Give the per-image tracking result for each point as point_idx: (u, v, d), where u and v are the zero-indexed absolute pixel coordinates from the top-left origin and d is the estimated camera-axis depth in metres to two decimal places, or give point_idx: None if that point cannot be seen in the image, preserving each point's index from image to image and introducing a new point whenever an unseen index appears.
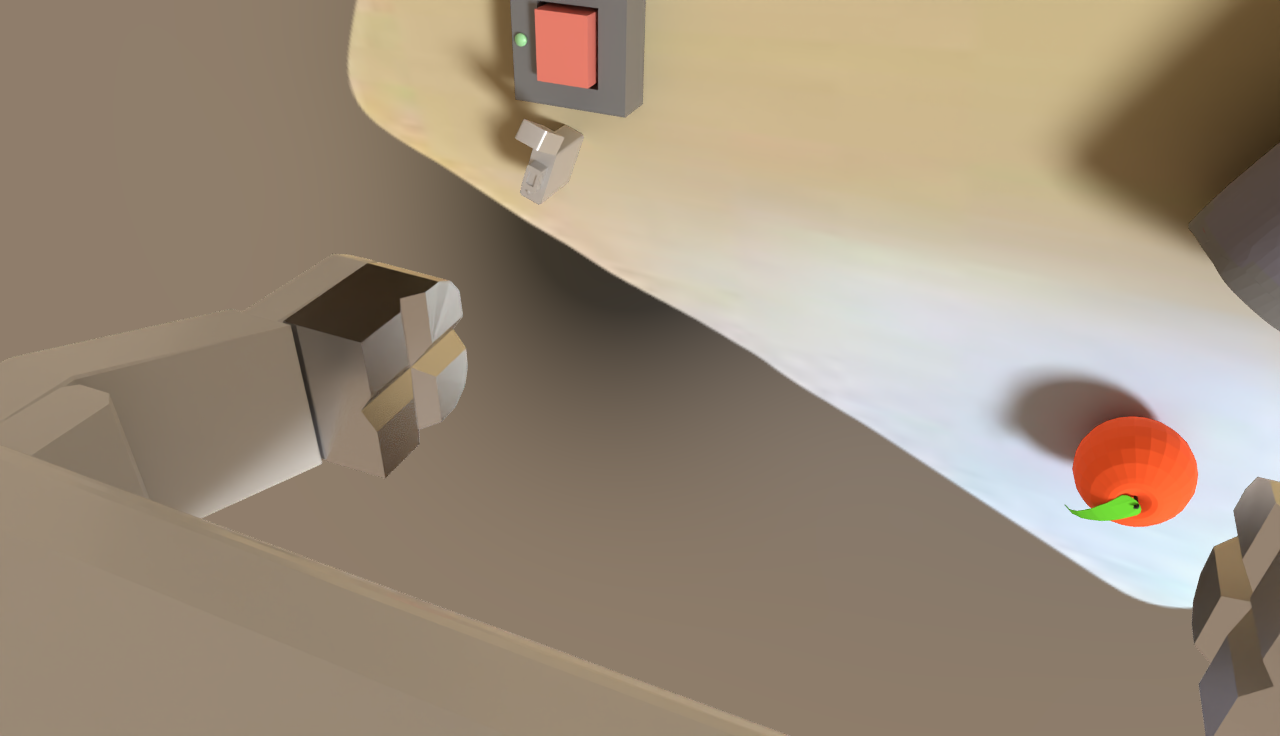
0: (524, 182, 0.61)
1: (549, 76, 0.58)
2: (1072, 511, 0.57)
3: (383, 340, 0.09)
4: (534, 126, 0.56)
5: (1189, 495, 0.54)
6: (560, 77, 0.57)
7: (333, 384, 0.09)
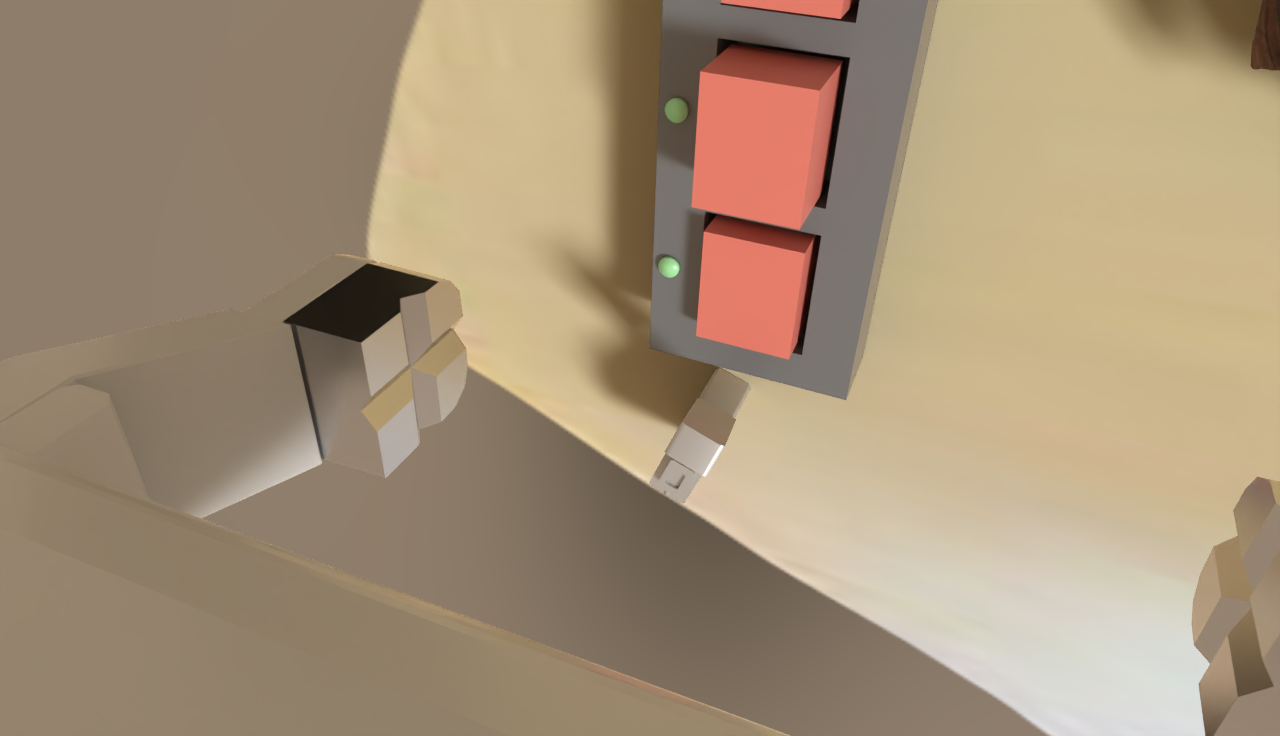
0: (662, 481, 0.37)
1: (719, 333, 0.33)
2: None
3: (383, 340, 0.09)
4: (702, 437, 0.32)
5: None
6: (739, 337, 0.33)
7: (333, 384, 0.09)
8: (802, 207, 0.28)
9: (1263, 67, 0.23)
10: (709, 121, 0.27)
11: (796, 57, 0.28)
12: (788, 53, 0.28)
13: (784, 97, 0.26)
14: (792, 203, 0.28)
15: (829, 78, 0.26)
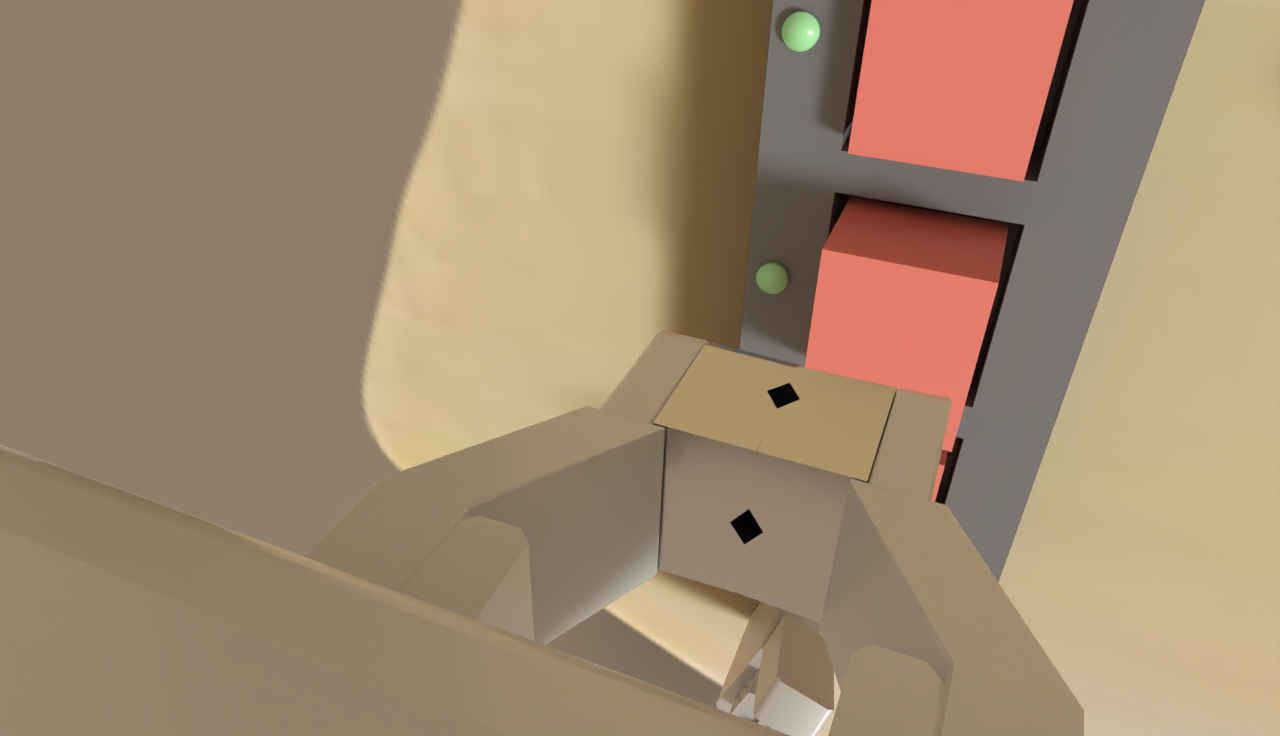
0: (736, 714, 0.29)
1: None
2: None
3: (765, 443, 0.08)
4: (804, 698, 0.24)
5: None
6: None
7: (700, 492, 0.08)
8: (958, 425, 0.20)
9: None
10: (831, 311, 0.20)
11: (944, 218, 0.21)
12: (931, 212, 0.21)
13: (945, 289, 0.19)
14: None
15: None
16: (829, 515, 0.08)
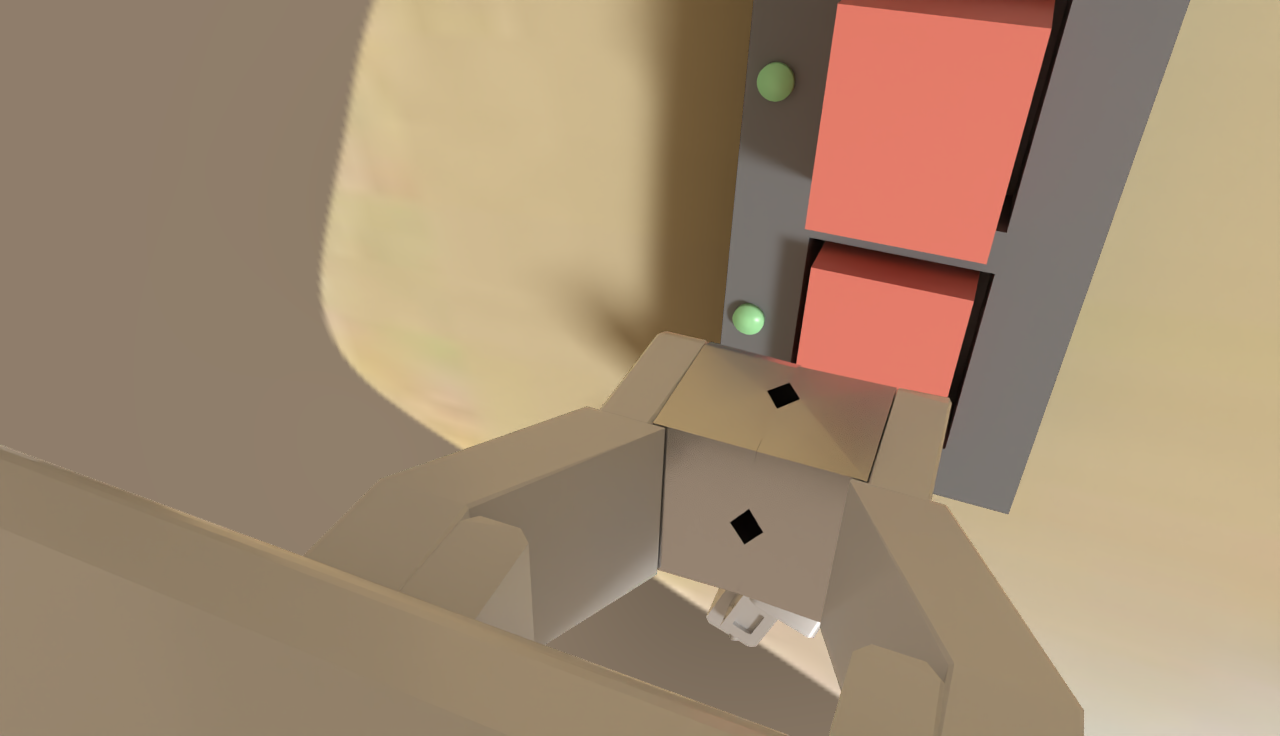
0: (729, 622, 0.26)
1: None
2: None
3: (765, 443, 0.08)
4: None
5: None
6: None
7: (700, 493, 0.08)
8: (995, 228, 0.17)
9: None
10: (846, 88, 0.17)
11: None
12: None
13: (985, 43, 0.15)
14: (978, 221, 0.17)
15: None
16: (827, 515, 0.08)
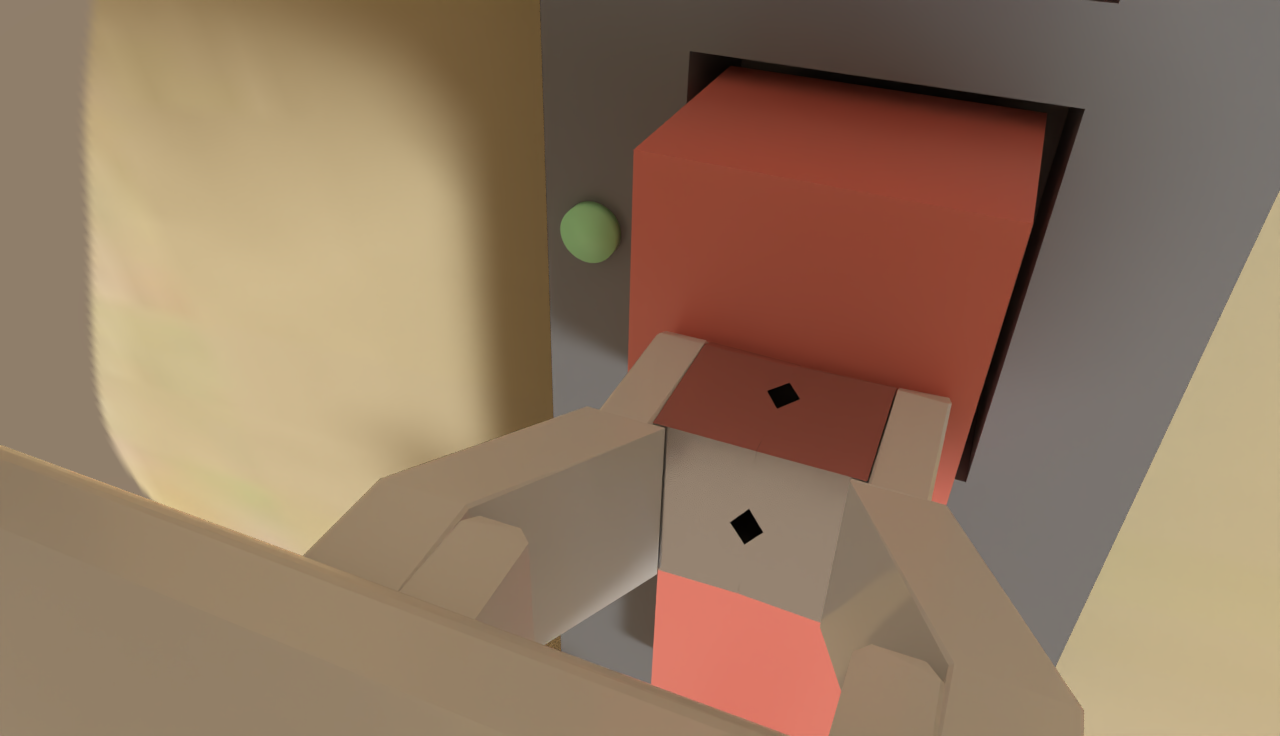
0: None
1: (700, 700, 0.15)
2: None
3: (765, 443, 0.08)
4: None
5: None
6: (745, 715, 0.15)
7: (700, 492, 0.08)
8: None
9: None
10: (665, 291, 0.09)
11: (913, 102, 0.10)
12: (888, 91, 0.10)
13: (905, 238, 0.08)
14: None
15: (1038, 175, 0.08)
16: (829, 515, 0.08)
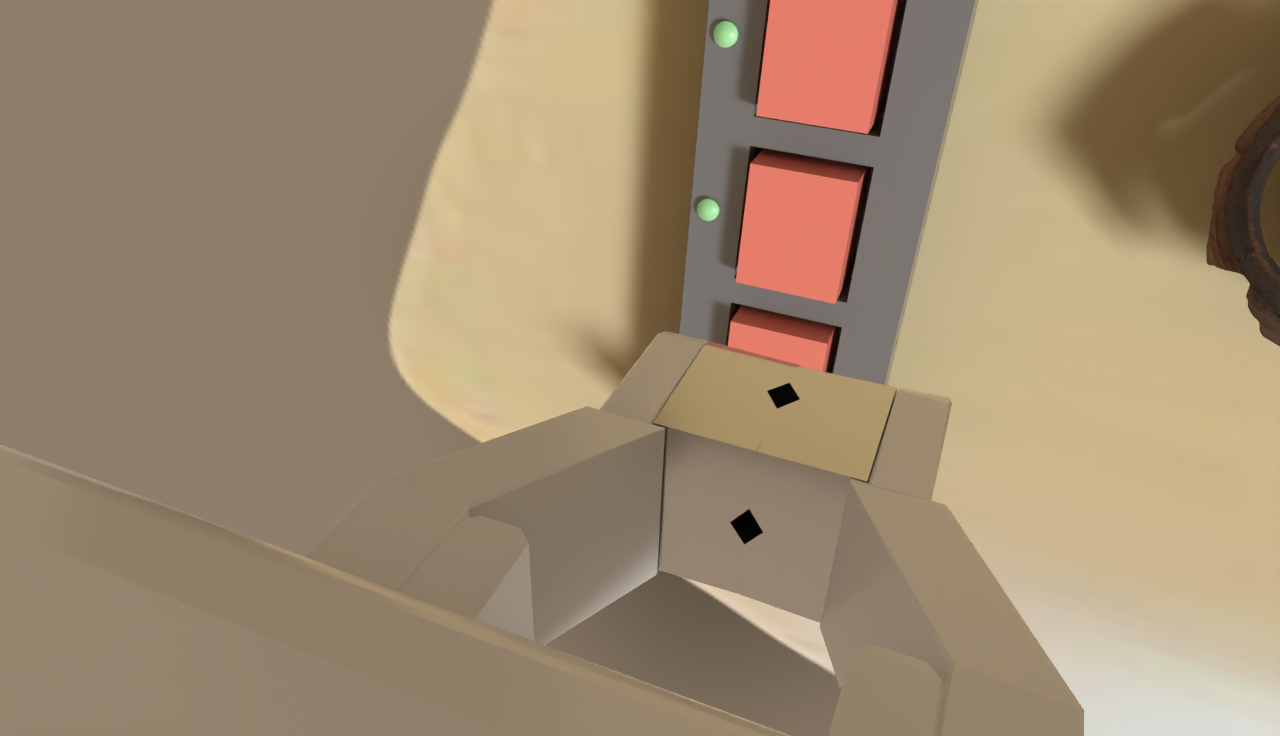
0: None
1: None
2: None
3: (765, 443, 0.08)
4: None
5: None
6: None
7: (700, 492, 0.08)
8: (838, 284, 0.31)
9: (1217, 266, 0.27)
10: (756, 206, 0.31)
11: None
12: None
13: (826, 187, 0.29)
14: (829, 280, 0.31)
15: (864, 172, 0.30)
16: (829, 515, 0.08)
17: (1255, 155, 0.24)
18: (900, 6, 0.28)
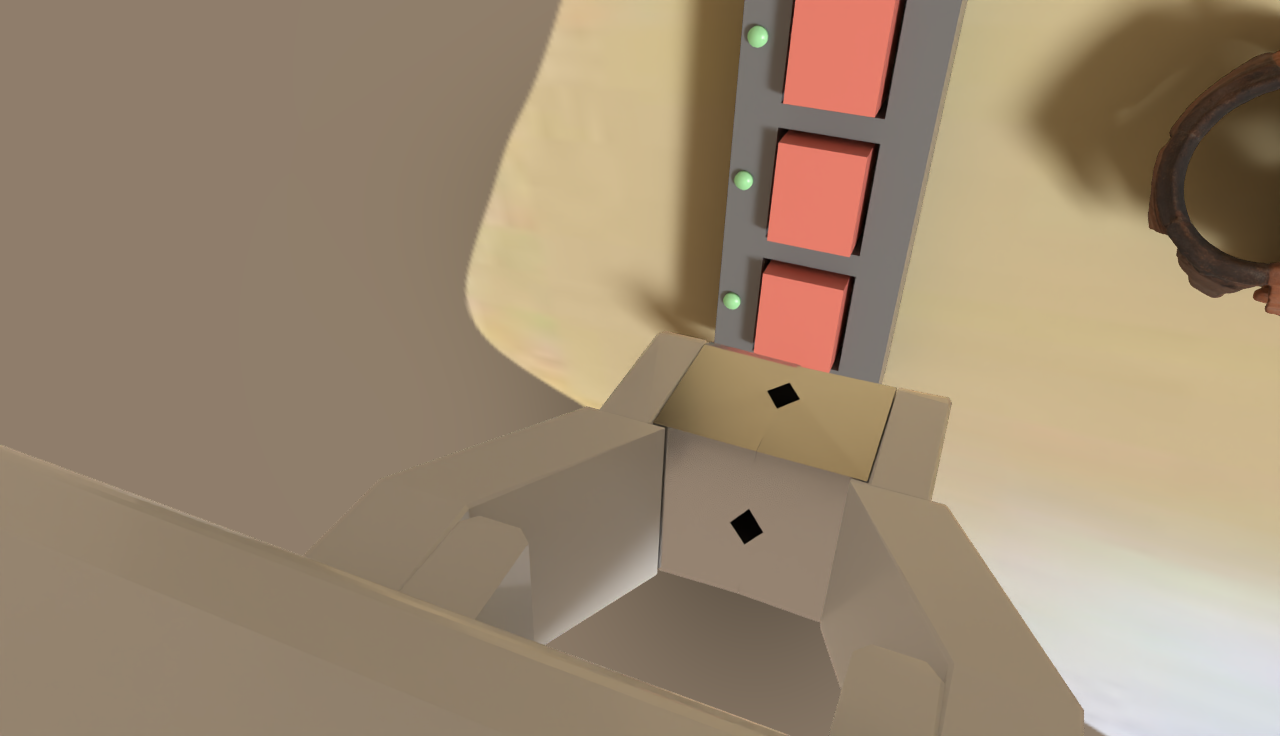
0: None
1: (772, 353, 0.42)
2: None
3: (765, 443, 0.08)
4: None
5: None
6: (789, 356, 0.42)
7: (700, 492, 0.08)
8: (852, 240, 0.37)
9: (1155, 230, 0.33)
10: (783, 178, 0.37)
11: None
12: None
13: (841, 161, 0.36)
14: (844, 237, 0.38)
15: (872, 148, 0.36)
16: (827, 515, 0.08)
17: (1178, 142, 0.31)
18: (901, 11, 0.34)
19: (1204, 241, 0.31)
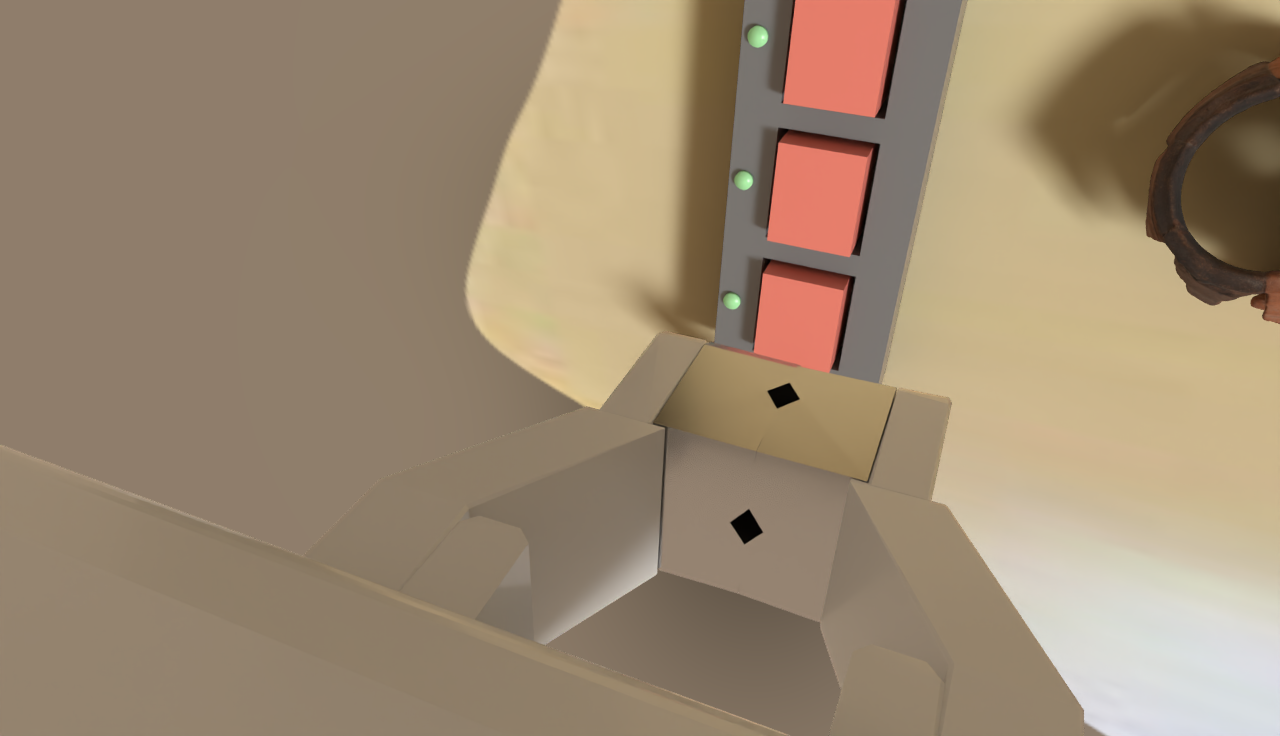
0: None
1: (772, 353, 0.42)
2: None
3: (766, 443, 0.08)
4: None
5: None
6: (789, 356, 0.42)
7: (701, 492, 0.08)
8: (852, 240, 0.37)
9: (1153, 238, 0.33)
10: (783, 178, 0.37)
11: None
12: None
13: (841, 161, 0.36)
14: (844, 237, 0.38)
15: (872, 148, 0.36)
16: (827, 515, 0.08)
17: (1175, 151, 0.31)
18: (901, 11, 0.34)
19: (1201, 249, 0.31)
